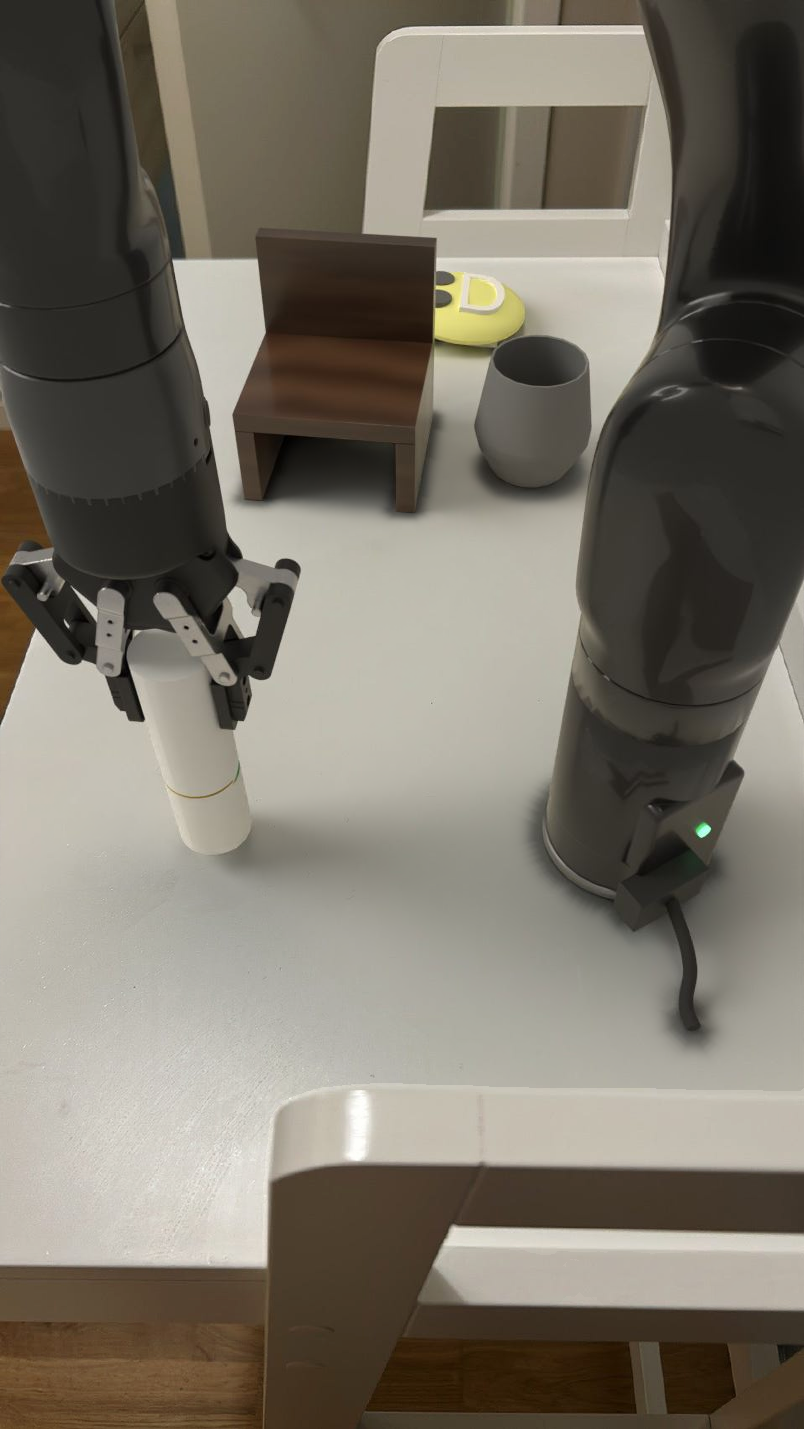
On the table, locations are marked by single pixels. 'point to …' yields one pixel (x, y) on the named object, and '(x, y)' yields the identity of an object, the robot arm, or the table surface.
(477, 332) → the emoji
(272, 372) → the wooden doll chair
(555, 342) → the cup
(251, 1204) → the table surface
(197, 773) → the tube
